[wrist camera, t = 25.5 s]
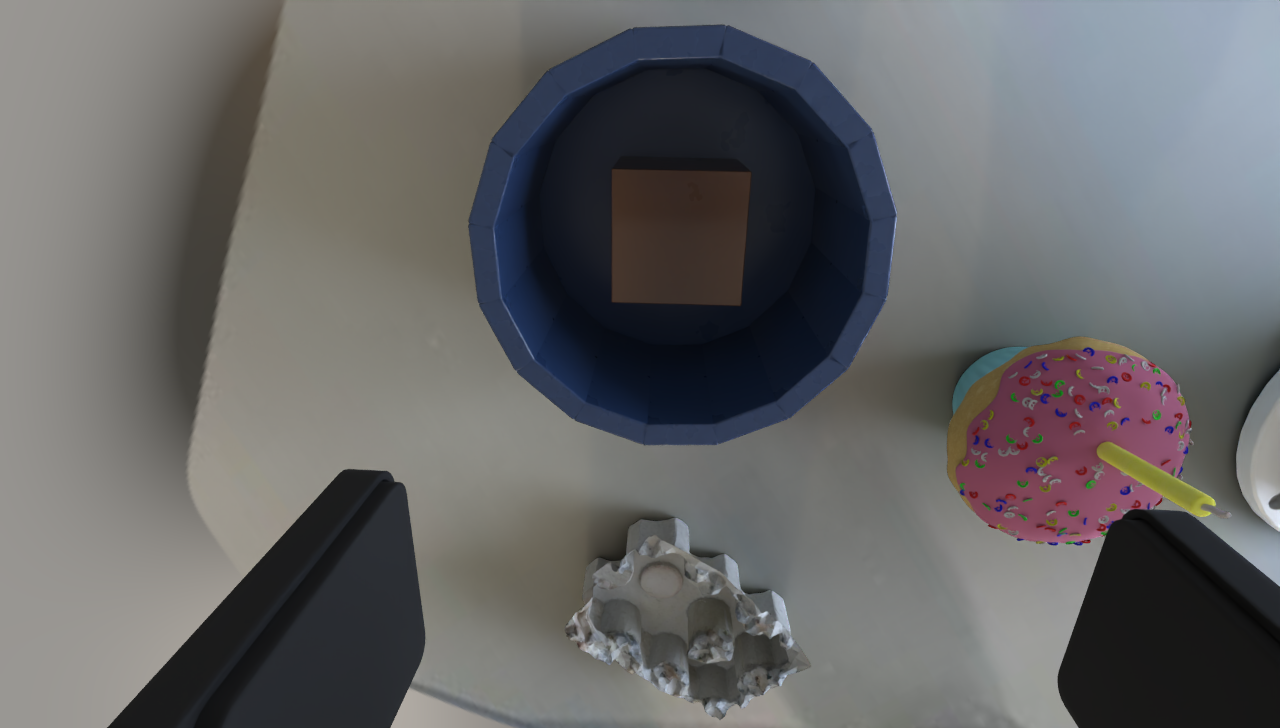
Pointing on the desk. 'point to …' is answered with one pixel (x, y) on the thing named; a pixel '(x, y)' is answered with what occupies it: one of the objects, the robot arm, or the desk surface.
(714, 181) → the block
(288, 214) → the desk surface
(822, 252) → the blue bowl
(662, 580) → the egg carton
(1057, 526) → the cupcake
